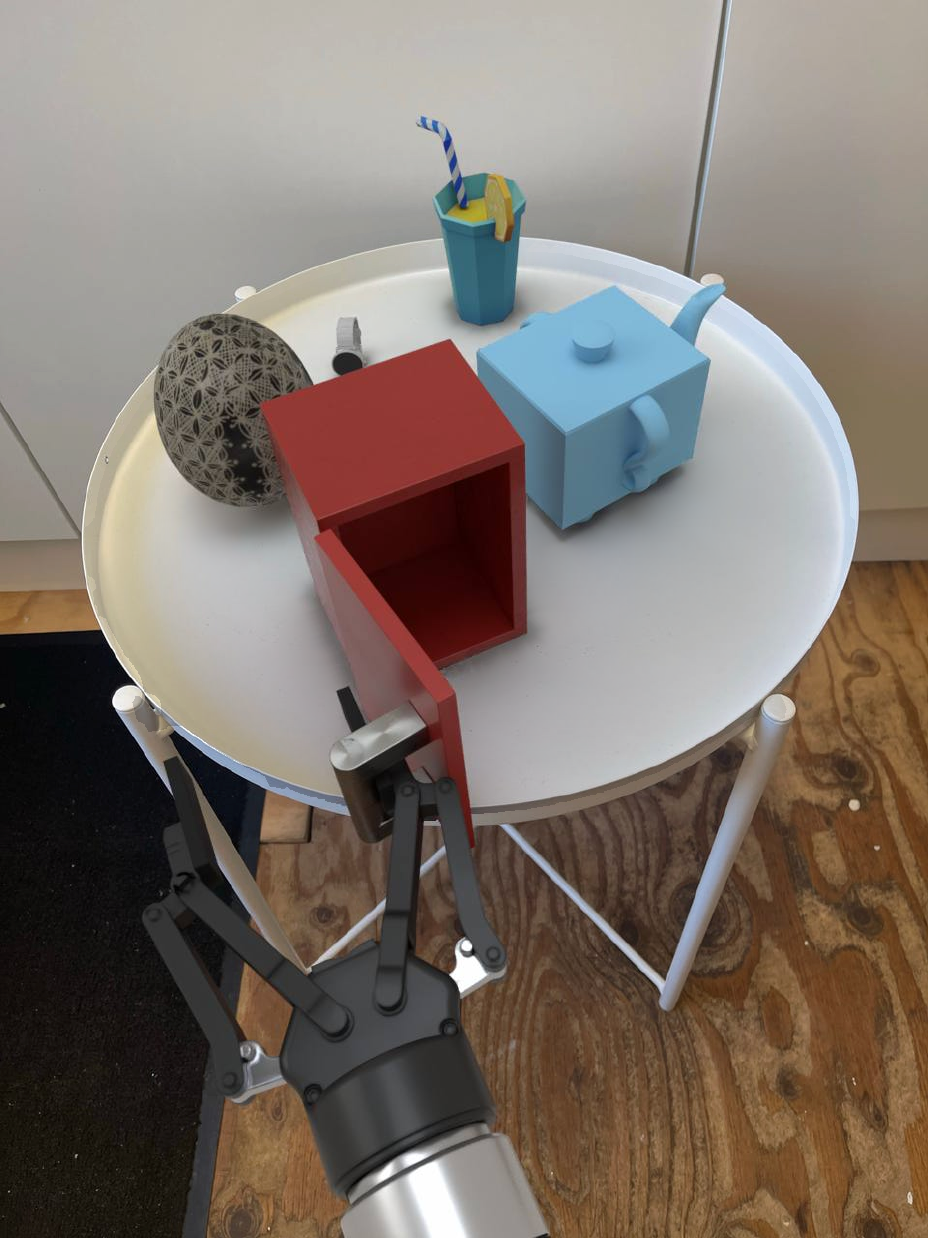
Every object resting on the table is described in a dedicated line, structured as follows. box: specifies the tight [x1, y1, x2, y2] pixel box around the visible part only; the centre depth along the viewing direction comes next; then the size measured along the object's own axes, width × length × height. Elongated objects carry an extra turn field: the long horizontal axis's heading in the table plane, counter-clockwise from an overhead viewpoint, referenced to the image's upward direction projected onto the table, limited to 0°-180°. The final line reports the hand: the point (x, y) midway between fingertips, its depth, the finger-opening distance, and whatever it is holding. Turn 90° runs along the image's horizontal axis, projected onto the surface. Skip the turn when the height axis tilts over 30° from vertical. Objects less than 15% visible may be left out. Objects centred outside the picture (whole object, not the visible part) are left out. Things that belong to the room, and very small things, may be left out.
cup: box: [415, 115, 527, 327], centre depth 82 cm, size 14×8×15 cm, turn 37°
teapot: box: [475, 283, 727, 531], centre depth 71 cm, size 18×16×13 cm
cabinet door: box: [314, 529, 476, 850], centre depth 53 cm, size 6×12×18 cm, turn 33°
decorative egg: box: [153, 313, 315, 508], centre depth 70 cm, size 12×12×15 cm
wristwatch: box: [330, 316, 367, 377], centre depth 82 cm, size 3×5×5 cm, turn 1°
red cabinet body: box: [259, 338, 528, 670], centre depth 61 cm, size 10×12×18 cm
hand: (263, 735), depth 53 cm, fingers open, 9 cm apart
